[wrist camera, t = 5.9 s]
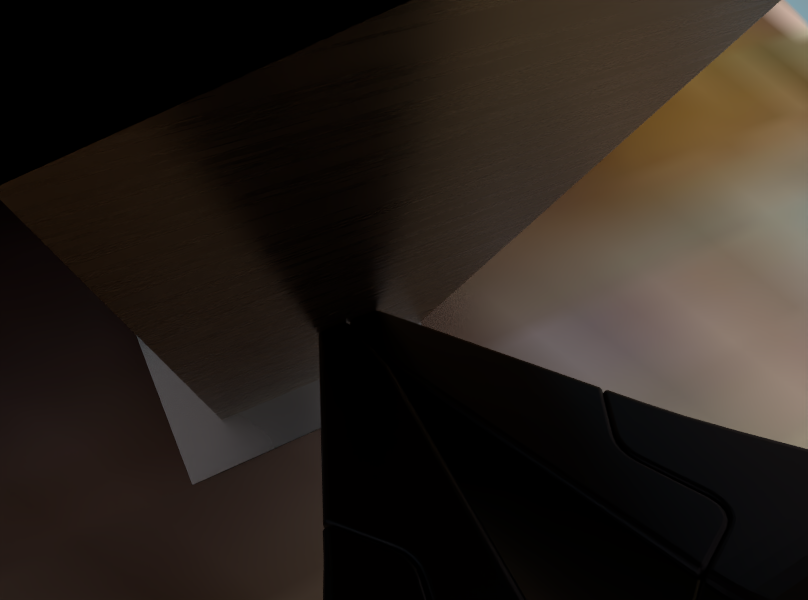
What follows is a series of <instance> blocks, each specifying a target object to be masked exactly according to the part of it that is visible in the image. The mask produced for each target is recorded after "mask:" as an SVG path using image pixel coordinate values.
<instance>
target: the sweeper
mask: <svg viewBox="0 0 808 600" xmlns="http://www.w3.org/2000/svg"><path fill="white" fill-rule="evenodd" d="M779 1H780V0H0V200H1V201H2V202H3V203H4V204H5V205H6V206H7V207H8V208H9V209H10V210H11V211H12V212H13V213H14V214H15V215H16V216H17V217H18V218H19V219H20V220H21V221H22V222H23V223H24V224H25V225H26V226H27V227H28V228H29V229H30V230H31V231H32V232H33V233H34V234H35V235H36V236H37V237H38V238H39V239H40V240H41V241H42V242H43V243H44V244H45V245H46V246H47V247H48V248H49V249H50V250H51V251H52V252H53V253H54V254H55V255H56V256H57V257H58V258H59V259H60V260H61V261H62V262H63V263H64V264H65V265H66V266H67V267H68V268H69V269H70V270H71V271H72V272H73V273H74V274H75V275H76V276H77V277H78V278H79V279H80V280H81V281H82V282H83V283H84V284H85V285H86V286H87V287H88V288H89V289H90V290H92V291H93V292H94V293H95V294H96V295H97V296H98V297H99V298H100V299H101V300H102V301H103V302H104V303H105V304H106V305H107V306H108V307H109V308H110V309H111V310H112V311H113V312H114V313H115V314H116V315H117V316H118V317H119V318H120V319H121V320H122V321H123V322H124V323H125V324H126V325H127V326H128V327H129V328H130V329H131V330H132V331H133V332H134V333H135V334H136V336H137V339H138V341H139V344H140V347H141V349H142V352H143V355H144V357H145V360H146V363H147V365H148V368H149V371H150V373H151V376H152V379H153V381H154V384H155V387H156V389H157V392H158V395H159V397H160V400H161V403H162V405H163V408H164V411H165V413H166V416H167V419H168V421H169V424H170V427H171V429H172V432H173V435H174V437H175V440H176V443H177V445H178V448H179V451H180V453H181V456H182V459H183V461H184V464H185V467H186V469H187V472H188V475H189V477H190V480H191V483H192V485H193V484H196V483H199V482H201V481H203V480H205V479H207V478H210V477H212V476H214V475H216V474H219V473H221V472H223V471H225V470H228V469H230V468H232V467H234V466H237V465H239V464H241V463H243V462H246V461H248V460H250V459H252V458H255V457H257V456H259V455H261V454H264V453H266V452H268V451H270V450H273V449H275V448H277V447H279V446H281V445H284V444H286V443H288V442H290V441H293V440H295V439H297V438H299V437H302V436H304V435H306V434H308V433H311V432H313V431H315V430H317V429H320V428H321V416H320V377H319V339H318V336H319V333H320V332H322V331H324V330H326V329H329V328H332V327H334V326H337V325H339V324H342V323H349V324H350V321H351V320H353V319H355V318H357V317H360V316H362V315H365V314H367V313H370V312H373V311H376V310H378V311H382V312H385V313H388V314H391V315H394V316H397V317H400V318H402V319H405V320H408V321H411V322H414V323H417V324H420V325H421V323H420V322H421V321H422V320H423V319H424V318H425V317H426V316H427V315H429V314H430V313H431V312H432V311H433V310H434V309H435V308H436V307H437V306H439V305H440V304H441V303H442V302H443V301H444V300H445V299H446V298H448V297H449V296H450V295H451V294H452V293H453V292H454V291H455V290H457V289H458V288H459V287H460V286H461V285H462V284H463V283H464V282H466V281H467V280H468V279H469V278H470V277H471V276H472V275H473V274H474V273H476V272H477V271H478V270H479V269H480V268H481V267H482V266H483V265H485V264H486V263H487V262H488V261H489V260H490V259H491V258H492V257H494V256H495V255H496V254H497V253H498V252H499V251H500V250H501V249H503V248H504V247H505V246H506V245H507V244H508V243H509V242H510V241H511V240H513V239H514V238H515V237H516V236H517V235H518V234H519V233H520V232H522V231H523V230H524V229H525V228H526V227H527V226H528V225H529V224H531V223H532V222H533V221H534V220H535V219H536V218H537V217H538V216H539V215H541V214H542V213H543V212H544V211H545V210H546V209H547V208H548V207H550V206H551V205H552V204H553V203H554V202H555V201H556V200H557V199H559V198H560V197H561V196H562V195H563V194H564V193H565V192H566V191H568V190H569V189H570V188H571V187H572V186H573V185H574V184H575V183H576V182H578V181H579V180H580V179H581V178H582V177H583V176H584V175H585V174H587V173H588V172H589V171H590V170H591V169H592V168H593V167H594V166H596V165H597V164H598V163H599V162H600V161H601V160H602V159H603V158H604V157H606V156H607V155H608V154H609V153H610V152H611V151H612V150H613V149H615V148H616V147H617V146H618V145H619V144H620V143H621V142H622V141H624V140H625V139H626V138H627V137H628V136H629V135H630V134H631V133H633V132H634V131H635V130H636V129H637V128H638V127H639V126H640V125H641V124H643V123H644V122H645V121H646V120H647V119H648V118H649V117H650V116H652V115H653V114H654V113H655V112H656V111H657V110H658V109H659V108H661V107H662V106H663V105H664V104H665V103H666V102H667V101H668V100H670V99H671V98H672V97H673V96H674V95H675V94H676V93H677V92H678V91H680V90H681V89H682V88H683V87H684V86H685V85H686V84H687V83H689V82H690V81H691V80H692V79H693V78H694V77H695V76H696V75H698V74H699V73H700V72H701V71H702V70H703V69H704V68H705V67H706V66H708V65H709V64H710V63H711V62H712V61H713V60H714V59H715V58H717V57H718V56H719V55H720V54H721V53H722V52H723V51H724V50H726V49H727V48H728V47H729V46H730V45H731V44H732V43H733V42H735V41H736V40H737V39H738V38H739V37H740V36H741V35H742V34H743V33H745V32H746V31H747V30H748V29H749V28H750V27H751V26H752V25H754V24H755V23H756V22H757V21H758V20H759V19H760V18H761V17H763V16H764V15H765V14H766V13H767V12H768V11H769V10H770V9H772V8H773V7H774V6H775V5H776V4H777V3H778V2H779Z"/></svg>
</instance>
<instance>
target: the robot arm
mask: <svg viewBox="0 0 808 600" xmlns="http://www.w3.org/2000/svg"><path fill="white" fill-rule="evenodd" d="M318 339H319V377H320V416H321V455H322V494H323V526H324V530H323V550H324V577H323V600H808V449H805V448H801V447H797V446H793V445H789V444H786V443H782V442H778V441H774V440H770V439H767V438H763V437H759V436H755V435H751V434H748V433H744V432H740V431H736V430H733V429H729V428H726V427H722V426H719V425H715V424H712V423H708V422H705V421H701V420H698V419H694V418H691V417H687V416H684V415H680V414H677V413H674V412H671V411H668V410H665V409H662V408H659V407H656V406H653V405H650V404H647V403H644V402H641V401H638V400H635V399H632V398H629V397H626V396H623V395H620V394H617V393H615V392H612V391H609V390H606V391H604V393H603V391H602V389H601V388H600V387H597V386H594V385H591V384H588V383H585V382H582V381H580V380H577V379H574V378H571V377H568V376H565V375H562V374H560V373H557V372H554V371H551V370H548V369H545V368H542V367H540V366H537V365H534V364H531V363H528V362H525V361H522V360H520V359H517V358H514V357H511V356H508V355H505V354H502V353H500V352H497V351H494V350H491V349H488V348H485V347H482V346H480V345H477V344H474V343H471V342H468V341H465V340H462V339H460V338H457V337H454V336H451V335H448V334H445V333H442V332H440V331H437V330H434V329H431V328H428V327H425V326H422V325H420V324H417V323H414V322H411V321H408V320H405V319H402V318H400V317H397V316H394V315H391V314H388V313H385V312H382V311H378V310H376V311H373V312H370V313H367V314H365V315H362V316H360V317H357V318H355V319H353V320H351V321H350V324H349V323H342V324H339V325H337V326H334V327H332V328H329V329H326V330H324V331H322V332H320V333H319V336H318Z"/></svg>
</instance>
